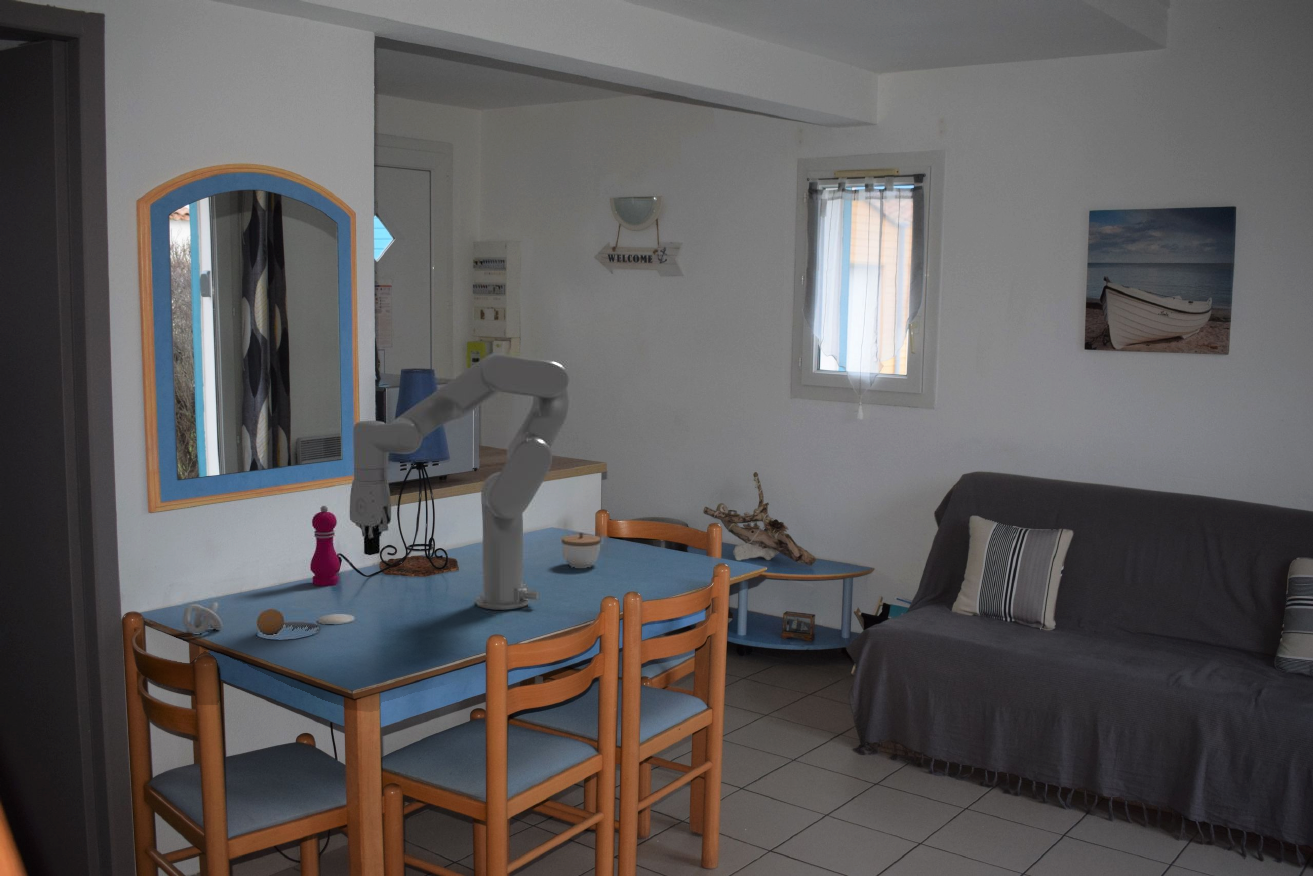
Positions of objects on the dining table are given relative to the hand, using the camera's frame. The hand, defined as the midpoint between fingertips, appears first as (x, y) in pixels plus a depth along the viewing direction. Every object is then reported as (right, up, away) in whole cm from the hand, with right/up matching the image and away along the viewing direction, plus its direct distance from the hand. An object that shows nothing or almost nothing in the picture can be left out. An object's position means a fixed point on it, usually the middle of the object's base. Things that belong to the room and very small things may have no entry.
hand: (371, 553), depth 250 cm
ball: (-17, -13, -18) cm, 28 cm away
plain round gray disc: (-6, -14, -6) cm, 17 cm away
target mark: (-14, -15, -16) cm, 26 cm away
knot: (-32, -15, -16) cm, 39 cm away
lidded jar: (+45, -9, +50) cm, 68 cm away
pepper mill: (-19, -11, +26) cm, 34 cm away
